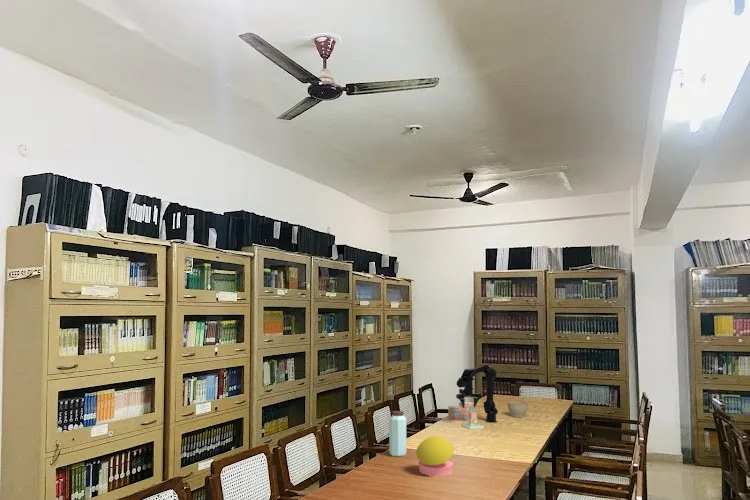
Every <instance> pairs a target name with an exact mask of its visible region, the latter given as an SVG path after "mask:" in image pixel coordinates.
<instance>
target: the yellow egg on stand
mask: <svg viewBox="0 0 750 500" xmlns="http://www.w3.org/2000/svg"><path fill="white" fill-rule="evenodd" d="M454 451H455V449H454V446H453V444H452V443H451V442H450V441H449V440H447V439H446V438H443V437H441V436H429V437H427V438H426V439H424V440H423V441H421V442H420V443H419V445H418V446H417V448H416V451H415V454H416V457H417V460H418V467H419V468H418V469H419V473H420V472H421V473H422V474H425V475H431V476H445V477H448V476H447V475H449V476H451V475H452V474H453V467H454V462H452V461H451V460H450V459H451V458H452V457H453V455H454ZM421 473H420V474H421ZM422 474H421V475H422ZM450 474H451V475H450ZM425 475H424V476H425ZM431 476H430V477H431Z"/></svg>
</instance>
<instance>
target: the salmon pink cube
mask: <svg viewBox="0 0 750 500" xmlns="http://www.w3.org/2000/svg"><path fill="white" fill-rule="evenodd" d="M468 419H471V420H475V419H477V420H478V412H476V413H475V412H468ZM468 419H467V420H468Z"/></svg>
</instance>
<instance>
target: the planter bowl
mask: <svg viewBox="0 0 750 500" xmlns="http://www.w3.org/2000/svg"><path fill="white" fill-rule="evenodd" d="M528 405H529V403H528V402H526V401H517V400H515V401H513V400H511V401H507V408H508V409H507V410H508V411H509V413H510V414H511V416H512V417H514V418H524V417H525V414H526V413H527V410H528V409H529V408H528V407H529V406H528Z"/></svg>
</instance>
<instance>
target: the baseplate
mask: <svg viewBox="0 0 750 500" xmlns="http://www.w3.org/2000/svg"><path fill="white" fill-rule="evenodd" d="M461 427H463V428H465V429H468V430H473V429H474V430H477V429H484V428H485V426H483V425H482V424H479V423H477V425H469V424H468V422H465V423H461Z"/></svg>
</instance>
